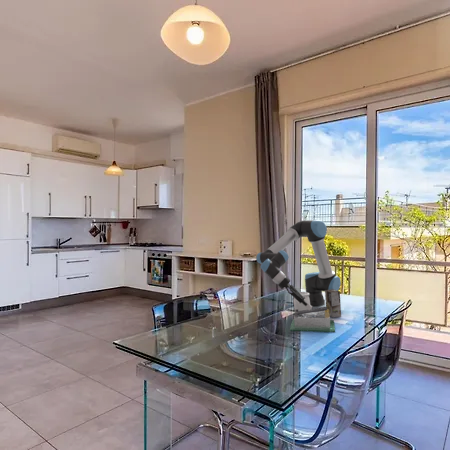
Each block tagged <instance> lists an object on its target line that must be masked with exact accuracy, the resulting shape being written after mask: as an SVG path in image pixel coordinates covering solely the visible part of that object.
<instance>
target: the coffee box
mask: <svg viewBox="0 0 450 450" xmlns="http://www.w3.org/2000/svg"><path fill="white" fill-rule="evenodd" d="M324 300H325V307H327V309H329V314H330V318H338V317H340V318H341V317H342V309H341V308H342V307H341V292H340V290H338V291H337V290H334V289H330V290H325V291H324Z"/></svg>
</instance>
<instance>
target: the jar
mask: <svg viewBox="0 0 450 450" xmlns="http://www.w3.org/2000/svg"><path fill="white" fill-rule="evenodd" d="M298 292H299V293H300V294H301V295H302V296H303V297H305V300H306V301H307V302H308V303H309V304H310V299H309V293H308V292H306V291H298ZM292 301H293V307H294V311H295V312H296V309H298V311H301V310H308V309H307V308H306V307H305V306H304V305H303V304H302V303H300V302H299V301H298V300H296V299H295V298H294V297H293V300H292ZM295 312H294V313H295Z"/></svg>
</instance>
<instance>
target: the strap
mask: <svg viewBox="0 0 450 450" xmlns="http://www.w3.org/2000/svg"><path fill="white" fill-rule="evenodd" d="M325 310H327V307H326V306H322V307H321V306H320V307H316V308H312V309H311V310H301V311H296V312H298V315H299V314H305V313H312V312H318V311H325Z"/></svg>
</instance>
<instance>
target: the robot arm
mask: <svg viewBox="0 0 450 450" xmlns="http://www.w3.org/2000/svg"><path fill="white" fill-rule="evenodd" d="M327 232H328V228H327V225H326V223H325V222H324V221H323V220H321V219H307V220H300V221H297V222H295V223H294V224H293V225H291V226H290V227H289V228H288V229H287V230H286V232H285V233H284V234H283V235H282V236H281V237H280V238H278V239H277V240H276V241H275V242H273V244H272V245H270V247H268V248H267V249H265V250H264V251H263V252H262V251H261V252H258V253H257V254H256V258H255V260H256V262H257V263H258V264H260V267H259V268H260V269H261V270H262V271H263V273H265V275H267V276H268V277H269V278H270V279H271V280H272V282H273V283H275V284H276V285H277V287H279V288H280V289H281V290H283V289H284V288H285V290H286V291H287V293H288V294H289V295H291V296H292V297H293V299H294V298H295V299H296V300H298V301H299V302H300V303H302V304H303V305H304V306H305V307H306V308H307V309H308V310H311V309H314V308H313V307H318V306H319V307H321V306H325V305H326V300H325V296H324V295H323V292H325V290H330V289H334V290H337V291H340V287H341V285H342V283H341V277H339V276H338V275H336V272H335V271H334V270H333V269H332V265H331V261H330V258H329V254H328V251H327V247H326V243H325V239H326V235H327ZM300 238H307V241H308V242H309V243H311V247H312V251H313V253H314V257H315V260H316V265H317V269H318V271H314V272H308V273H306V274H305V275H304V284H305V292H308V293H309V299H310V304H309V303H308V302H307V301H306V300H305V297H303V296H302V295H301V294H300V293H299V292H300V291H298V290H297V288H296V287H295V286H294V285H293V284H290V282H291V279H290V278H289V277H287V276H286V274H285V273H284V272H283V271H282V270H280V268H281V267H282V266H284V265H285V264H286V263H287V261H288V260H289V257H290V256H289V254H288V252H286V251H285V249H286V248H288V247H289V246H290V245H291V244H292V243H293V242H294V241H297V240H298V239H300Z"/></svg>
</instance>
